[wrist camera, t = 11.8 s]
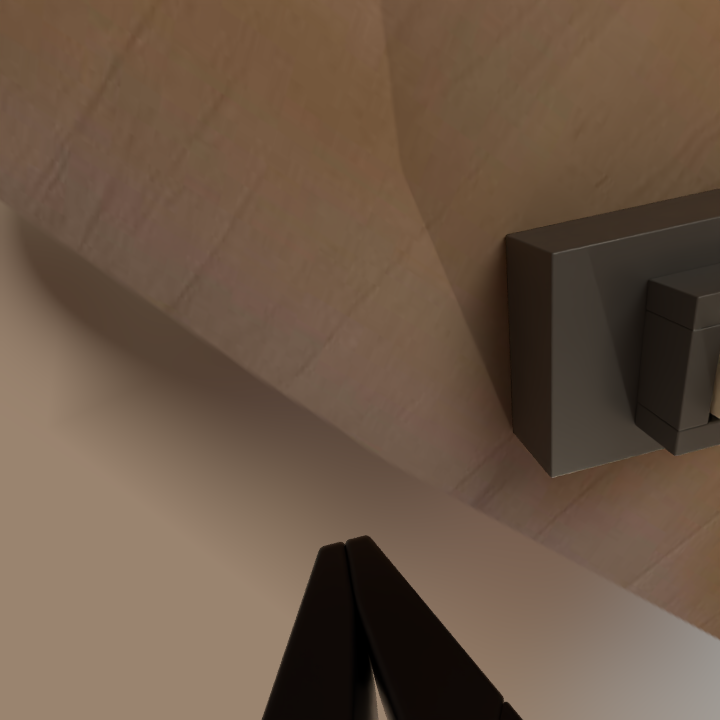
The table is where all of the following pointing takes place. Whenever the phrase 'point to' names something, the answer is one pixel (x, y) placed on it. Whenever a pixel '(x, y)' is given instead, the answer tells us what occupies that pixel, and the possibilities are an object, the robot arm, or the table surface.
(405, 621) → the robot arm
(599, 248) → the grey stepped pedestal
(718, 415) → the beige square block
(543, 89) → the table surface
